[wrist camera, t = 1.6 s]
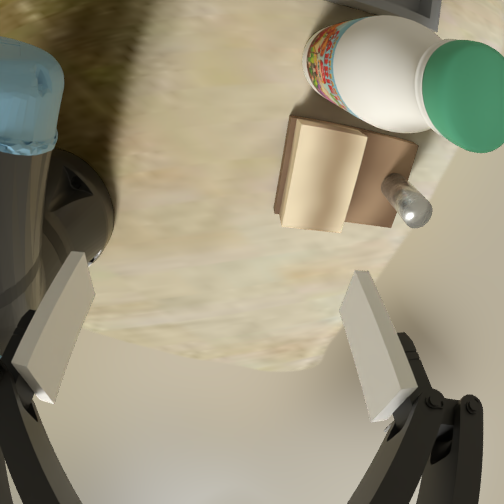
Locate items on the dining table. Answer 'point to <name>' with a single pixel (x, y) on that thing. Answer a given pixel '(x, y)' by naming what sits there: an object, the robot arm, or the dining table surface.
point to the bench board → (363, 174)
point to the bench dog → (406, 200)
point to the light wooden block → (321, 176)
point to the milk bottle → (410, 79)
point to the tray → (400, 9)
